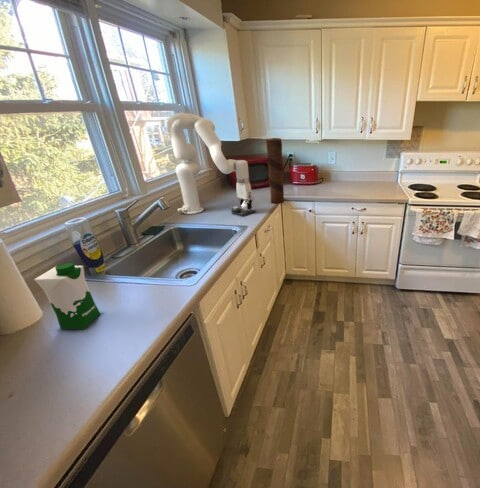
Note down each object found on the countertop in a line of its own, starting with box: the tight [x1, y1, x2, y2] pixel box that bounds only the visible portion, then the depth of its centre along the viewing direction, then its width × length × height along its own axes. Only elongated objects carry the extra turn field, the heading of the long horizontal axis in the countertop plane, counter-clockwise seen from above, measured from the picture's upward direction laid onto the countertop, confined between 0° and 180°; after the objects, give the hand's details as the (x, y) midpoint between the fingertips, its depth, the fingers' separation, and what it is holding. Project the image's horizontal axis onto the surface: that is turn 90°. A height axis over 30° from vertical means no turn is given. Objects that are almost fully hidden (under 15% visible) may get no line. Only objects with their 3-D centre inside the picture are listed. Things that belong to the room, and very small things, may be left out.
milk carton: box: [33, 261, 101, 330], centre depth 83 cm, size 9×9×20 cm
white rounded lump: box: [240, 199, 249, 211], centre depth 184 cm, size 6×6×7 cm
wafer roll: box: [265, 137, 285, 204], centre depth 200 cm, size 10×11×45 cm
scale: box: [230, 207, 256, 218], centre depth 185 cm, size 12×11×3 cm
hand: (246, 207), depth 184 cm, fingers closed on white rounded lump, 6 cm apart
